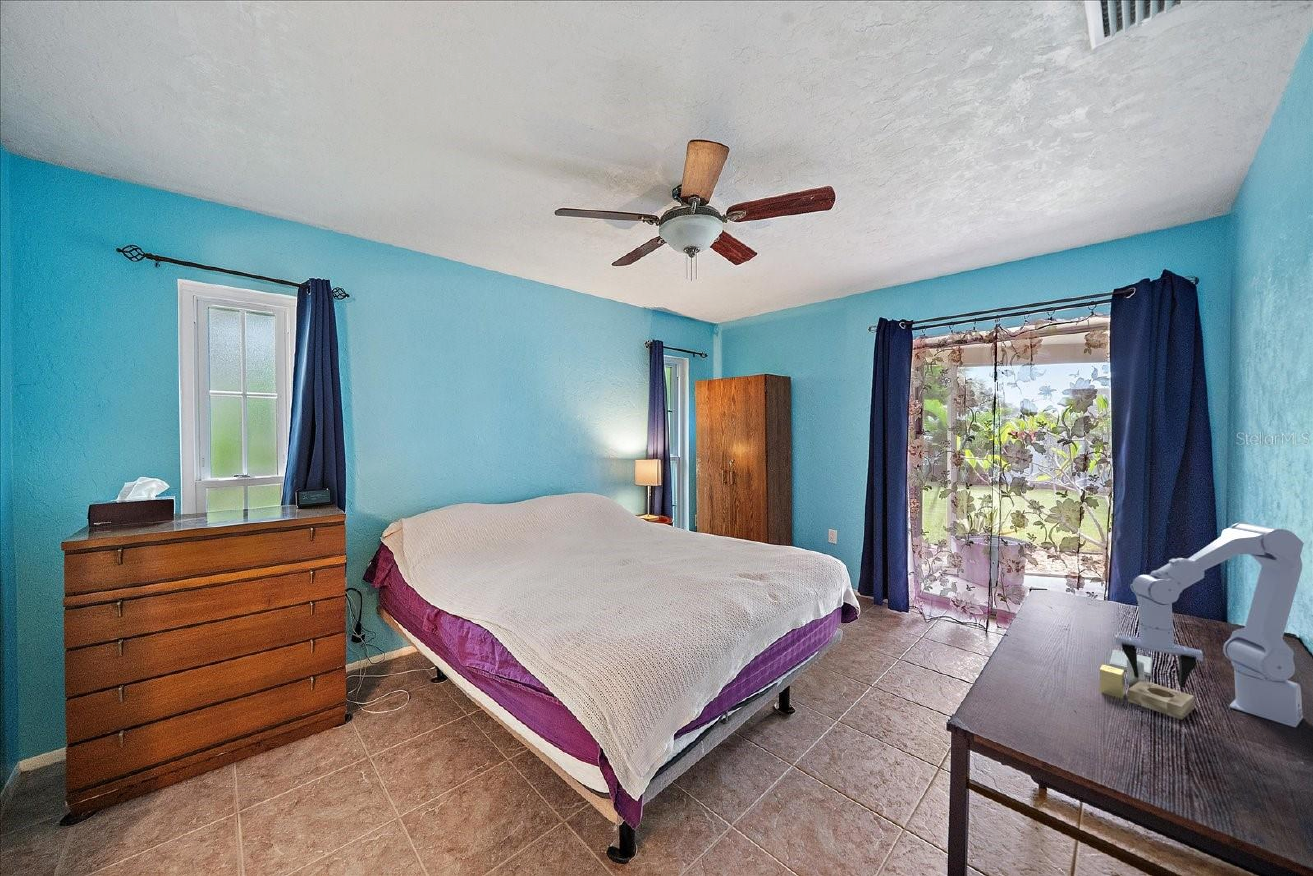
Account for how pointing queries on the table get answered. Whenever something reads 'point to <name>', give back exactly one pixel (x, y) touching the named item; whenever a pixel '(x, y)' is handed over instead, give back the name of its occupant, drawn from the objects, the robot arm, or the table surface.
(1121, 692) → the square bit
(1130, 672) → the round peg
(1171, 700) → the socket block
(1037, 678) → the table surface
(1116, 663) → the hard drive
